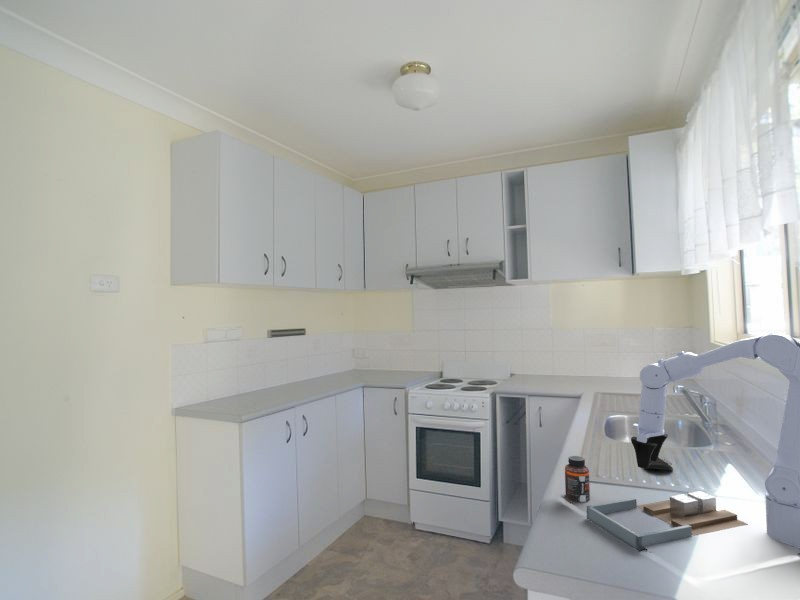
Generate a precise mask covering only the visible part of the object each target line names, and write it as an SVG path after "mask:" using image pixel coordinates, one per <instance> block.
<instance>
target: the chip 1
mask: <svg viewBox="0 0 800 600" xmlns="http://www.w3.org/2000/svg"><path fill="white" fill-rule="evenodd" d="M669 500H670V513H671V514H673V515H675V516H677V517H679V518H684V517H689V516H694V515H698V500H695V499H693V498H691V497H688V495H686V494H683V493H681V494H675V495H670V496H669Z"/></svg>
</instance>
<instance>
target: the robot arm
mask: <svg viewBox="0 0 800 600" xmlns="http://www.w3.org/2000/svg"><path fill="white" fill-rule="evenodd" d="M738 358H745V359H751V360H756V359H757V358H759V359H760V360H762V361H763V362H764V363H766V364H767V365H770V366H772V367H774V368H775V369H777V370H778V371H779V372H780V373H781V374H782V375H783V376H784V377H785V378H786V379H787V380H788V381H789V385H788V390H787V395H786V396H787V397H786V401H785V406H784V407H785V408H784V412H783V419H782V424H781V429H780V430H781V431H780V435H779V441H778V447H777V451H776V456H775V460H774V464H773V465H772V466H771V467H770V470H769V473H768V476H767V477H766V478H765V480H764V487H765V490H766V491H765V496H764V499H765V517H766V534H767V536H768V537H770V538H771V539H773V540H775V541H777V542H780V543H784V544H785V545H788V546H789V545H790V546H792V547H794V548H796V549H799V550H800V342H799V341H797V340H796V339H795V338H794V337H793V336H791V335H790V334H787V333H784V332H771V333H769V334H767V335H758V336H754V337H753V336H752V337H748V338H743V339H742V338H741V339H740V340H739V339H738V340H736V341H733V342H730V343H728V344H725V345H722V346H720V347H717V348H715V349H711V350H708V351H706V352H702V353H700V354H697V353H693V352H691V351H687V352H685V351H684V350H683V351H680V352H677V353H676V355H675V356H672V357H669V358H667V359H664V358H661V359H658V360H657V363H656V362H655V363H650V364H647V365H645V367H643V368H642V369H641V370H640V373H639V379H640V381H641V391H640V401H639V410H638V421H637V422H638V423H632V428H633V429H636V430H637V435H636V436H631V438H630V441H631V444H632V446H633V450H634V453H635V457H636V465H637V467H638V468H640V469H644V470H648V469H649V468H648V466H649V463H650V460H652V461H655V462H656V460H657V458H658V457H659V456H660V452H661V449H662V446H663V445H664V443H665V442H666V440H667V438H668V435H669V434H667V433H666V432H665V419H666V409H667V396H668V395H667V392H668V384H670V383H676V382H677V383H678V382H681V381H683V380H687V379H690V378H691V379H692V378H693V377H697V376H699V375H700V376H701V375H702V373H703V370H704V368H706V367H710V366H714V365H717V364H720V363H723V362H728V361H730V360H734V359H738ZM796 554H797V555H799V556H800V552H797V553H796Z"/></svg>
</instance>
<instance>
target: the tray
mask: <svg viewBox="0 0 800 600" xmlns="http://www.w3.org/2000/svg"><path fill="white" fill-rule="evenodd" d="M637 503H638V501H637V499H636V498H635V497H632V498H627V499H620V500H614V501H609V502H603V503H597V504H596V503H595V504H591V505H586V519H587V520H588V519H589V520H588V521H590V522H591V521H592V523H593V524H594V525H596V526H598V527H600V528H601V529H602V530H603V531H606V532H607V533H609V534H611V535H612V536H613V537H615V538H617V539H618V540H619V541H621V542H623V543H625V544H626V545H628V546H629V547H631V548H633V549H634V550H636V551H637V552H639V553H641V552H644V551H648V550H649V549H648V548H647V546H651V545H657V544H659V543H665V542H670V541H674V540H678V539H679V540H680V539H684V538H685V539H686V538H690V537H692V536H693V535H692V530H691V526H689V525H685V526H680V527H675V526H674V527H670V528H665V529H660V530H656V531H650V532H646V533H645V532H644V533H641V534H640V533H638V532H635V531H633V530H632V529H630V528H628V527H626V525H623V524H622V523H620V522H618V521H616V520H614V519H613V518H611V517H610V516H608V515H606V514H610V513H615V512H621V511H626V510H631V509H637V508H638V507H637V506H638V504H637Z"/></svg>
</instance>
